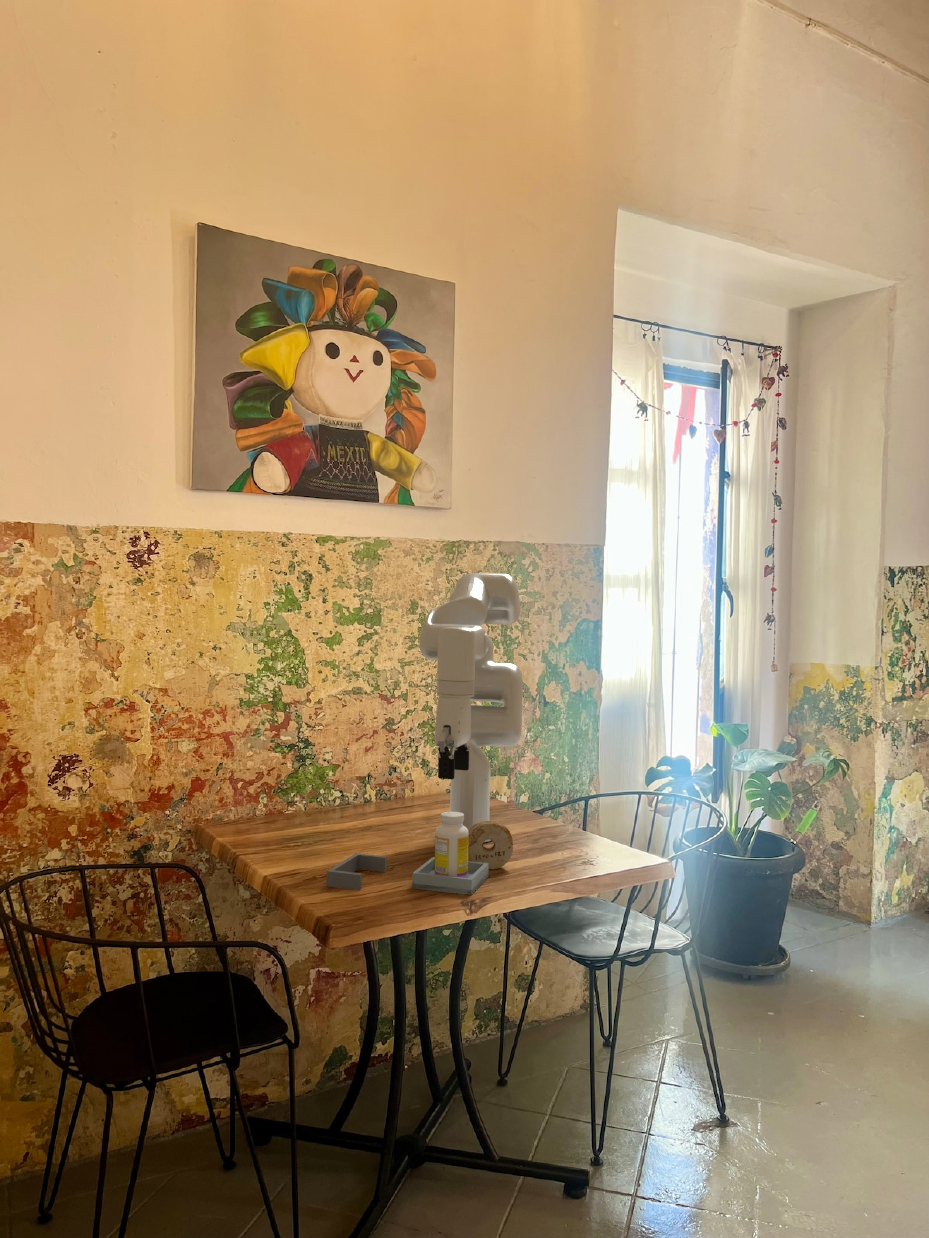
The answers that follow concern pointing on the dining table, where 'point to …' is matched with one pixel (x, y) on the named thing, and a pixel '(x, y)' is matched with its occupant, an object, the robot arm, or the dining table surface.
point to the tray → (450, 878)
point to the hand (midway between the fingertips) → (453, 774)
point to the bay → (344, 871)
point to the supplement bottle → (451, 846)
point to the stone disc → (500, 849)
